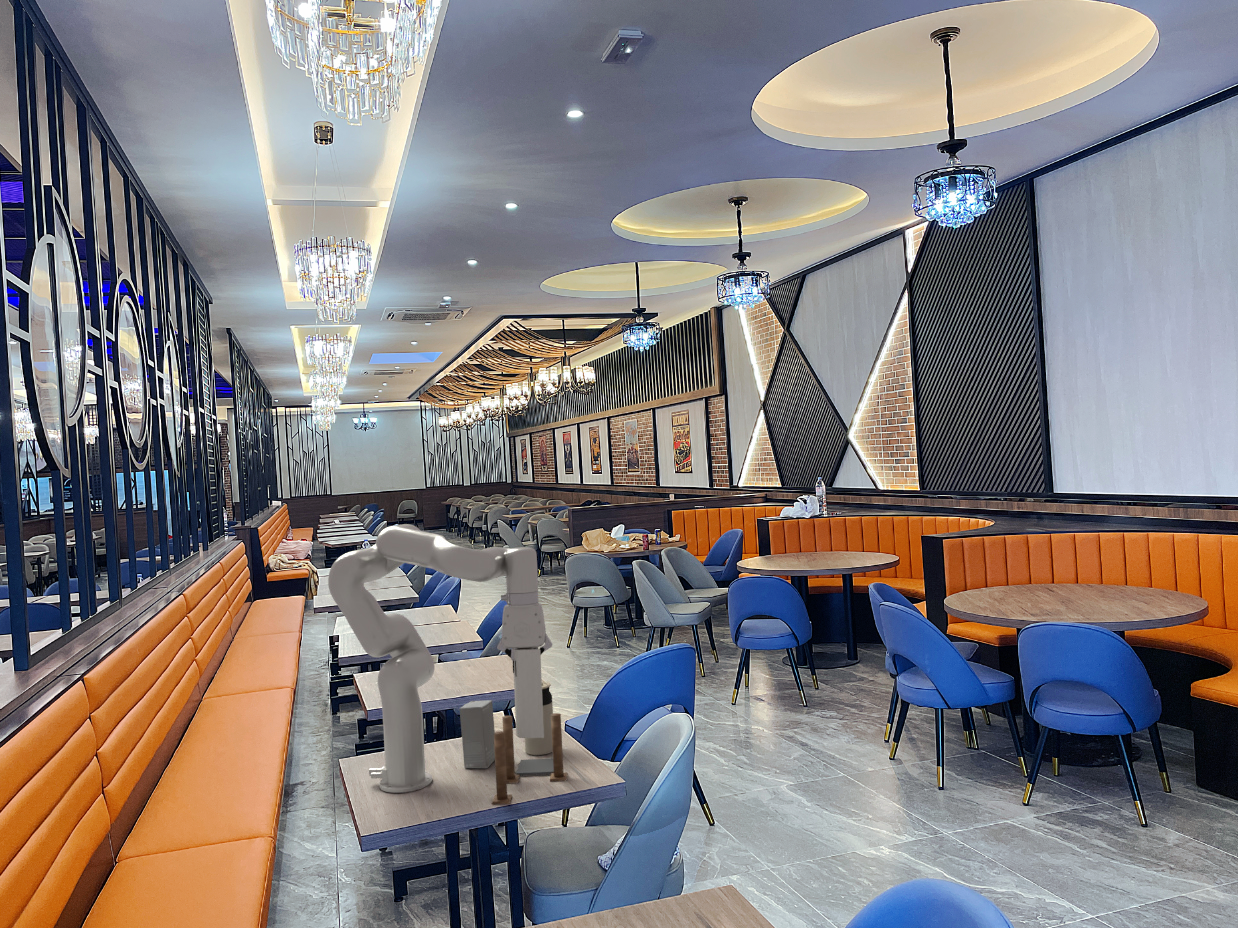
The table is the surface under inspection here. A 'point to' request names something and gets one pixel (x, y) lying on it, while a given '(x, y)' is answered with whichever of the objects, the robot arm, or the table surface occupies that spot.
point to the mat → (535, 767)
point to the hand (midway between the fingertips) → (525, 674)
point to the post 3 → (557, 749)
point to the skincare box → (477, 734)
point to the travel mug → (544, 744)
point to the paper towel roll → (528, 693)
